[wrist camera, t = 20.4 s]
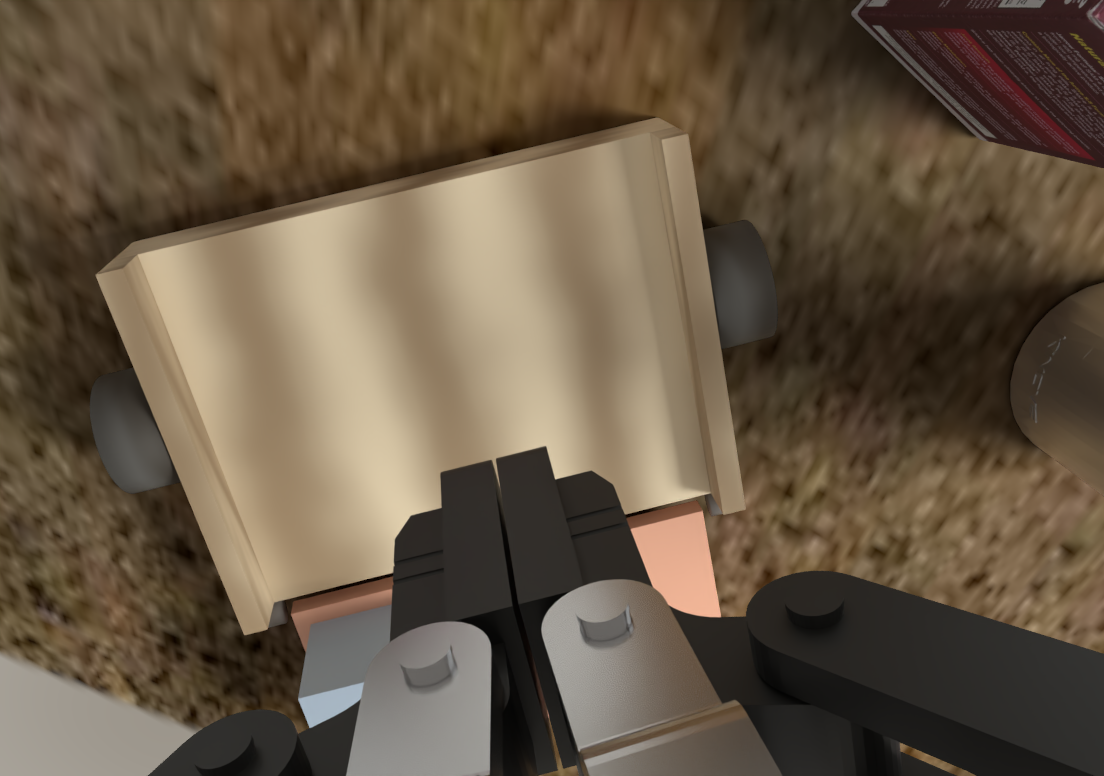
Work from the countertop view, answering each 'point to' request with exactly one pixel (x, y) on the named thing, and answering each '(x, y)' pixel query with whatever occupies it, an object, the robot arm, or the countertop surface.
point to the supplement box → (1006, 66)
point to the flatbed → (430, 352)
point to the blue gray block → (340, 661)
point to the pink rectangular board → (662, 540)
